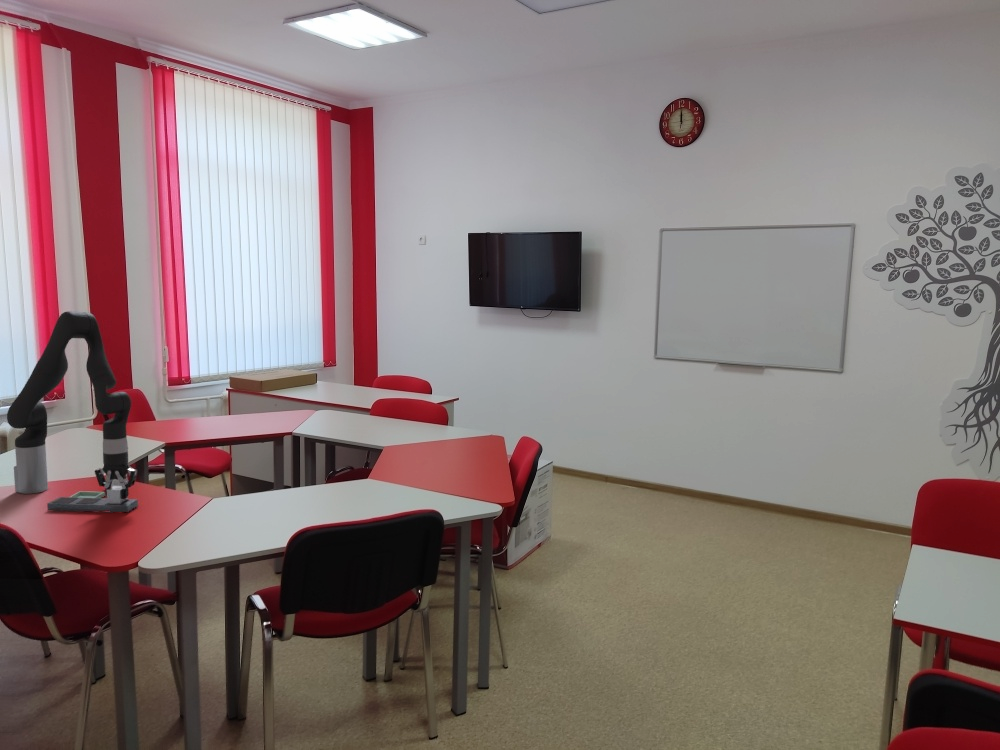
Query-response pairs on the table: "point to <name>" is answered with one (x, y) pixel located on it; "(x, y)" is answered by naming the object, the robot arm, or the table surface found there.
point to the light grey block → (115, 496)
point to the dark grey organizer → (89, 504)
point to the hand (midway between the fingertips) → (117, 498)
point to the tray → (89, 494)
